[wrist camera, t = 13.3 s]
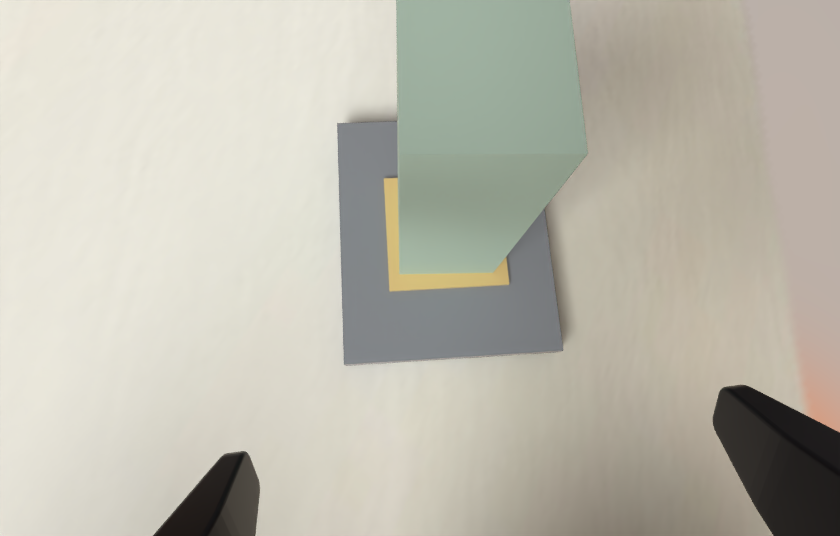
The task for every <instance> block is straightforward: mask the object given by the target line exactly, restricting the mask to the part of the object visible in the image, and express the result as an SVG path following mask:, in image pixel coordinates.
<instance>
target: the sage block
mask: <svg viewBox="0 0 840 536" xmlns="http://www.w3.org/2000/svg"><path fill="white" fill-rule="evenodd" d="M396 10H397V144H398V224H399V274H449V273H493V272H494V271H495V270H496V268H497V267H498V266H499V265H500V263H501V262H502V261H503V260H504V258H505V257H506V256H507V255H508V253H509V252H510V251H511V250H512V248H513V247H514V246H515V245H516V243H517V242H518V241H519V240H520V238H521V237H522V236H523V235H524V233H525V232H526V231H527V230H528V228H529V227H530V226H531V224H532V223H533V222H534V221H535V219H536V218H537V217H538V216H539V214H540V213H541V212H542V211H543V209H544V208H545V207H546V206H547V204H548V203H549V202H550V201H551V199H552V198H553V197H554V196H555V194H556V193H557V192H558V191H559V189H560V188H561V187H562V185H563V184H564V183H565V182H566V180H567V179H568V178H569V177H570V175H571V174H572V173H573V172H574V170H575V169H576V168H577V167H578V165H579V164H580V163H581V162H582V160H583V159H584V158H585V157H586V155H587V154H588V150H587V142H586V133H585V125H584V117H583V108H582V100H581V92H580V83H579V75H578V67H577V58H576V50H575V42H574V33H573V25H572V16H571V8H570V0H396Z"/></svg>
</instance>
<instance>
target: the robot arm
mask: <svg viewBox="0 0 840 536" xmlns="http://www.w3.org/2000/svg"><path fill="white" fill-rule="evenodd" d="M713 426H714V429H715V431H716V433H717V435H718V437H719V439H720V441H721V443H722V445H723V447H724V449H725V451H726V453H727V454H728V456H729V458H730V460H731V462H732V464H733V466H734V468H735V470H736V472H737V474H738V475H739V477H740V479H741V481H742V483H743V485H744V487H745V489H746V491H747V493H748V494H749V496H750V498H751V500H752V502H753V503H754V505H755V507H756V509H757V510H758V512H759V513H760V515H761V517H762V518H763V520H764V521H765V523H766V524H767V526H768V527H769V529H770V531H771V532H772V534H773V535H774V536H840V433H839V432H837V431H835V430H833V429H831V428H829V427H827V426H826V425H824V424H822V423H820V422H818V421H816V420H814V419H812V418H810V417H808V416H806V415H804V414H802V413H800V412H798V411H796V410H794V409H792V408H790V407H788V406H786V405H784V404H783V403H781V402H779V401H777V400H775V399H773V398H771V397H769V396H767V395H765V394H763V393H761V392H759V391H757V390H755V389H753V388H751V387H749V386H746V385H735V386H728V387H724V388H722V389H721V390H720V392H719V395H718V399H717V403H716V407H715V411H714V414H713ZM259 494H260V485H259V480H258V477H257V474H256V472H255V469H254V466H253V464H252V461H251V459H250V456H249V454H248V453H247V452H244V451H241V452H233V453H227V454H224V455H223V456H222V457H221V458H220V459H219V460H218V461H217V462H216V463H215V464H214V466H213V467H212V468H211V469H210V470H209V471H208V473H207V474H206V475H205V476H204V477H203V478H202V480H201V481H200V482H199V483H198V484H197V485H196V487H195V488H194V489H193V490H192V491H191V492H190V493H189V495H188V496H187V497H186V498H185V499H184V500H183V502H182V503H181V504H180V505H179V506H178V507H177V509H176V510H175V511H174V512H173V513H172V514H171V516H170V517H169V518H168V519H167V520H166V521H165V522H164V524H163V525H162V526H161V527H160V528H159V529H158V531H157V532H156V533H155V534H154V535H153V536H255V534H256V524H257V514H258V504H259Z"/></svg>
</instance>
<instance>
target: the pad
mask: <svg viewBox="0 0 840 536" xmlns="http://www.w3.org/2000/svg"><path fill="white" fill-rule="evenodd" d="M337 130H338V166H339V202H340V238H341V274H342V309H343V345H344V365H346V366H348V365H364V364H380V363H395V362H411V361H426V360H442V359H458V358H473V357H489V356H505V355H520V354H536V353H551V352H559V351H563V345H562V337H561V330H560V322H559V315H558V307H557V300H556V292H555V285H554V277H553V270H552V262H551V255H550V247H549V240H548V232H547V225H546V217H545V210H544V209H543V211H542V212H541V213H540V214H539V216H538V217H537V218H536V219H535V221H534V222H533V223H532V224H531V226H530V227H529V228H528V230H527V231H526V232H525V233H524V235H523V236H522V237H521V238H520V240H519V241H518V242H517V243H516V245H515V246H514V247H513V248H512V250H511V251H510V252H509V253H508V255H507V256H506V257H505V258H504V260H503V261H502V262H501V263H500V265H499V266H498V267H497V268H496V270H495V271H494V272H493V273H449V274H399V224H398V144H397V121H390V122H363V123H337Z"/></svg>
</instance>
